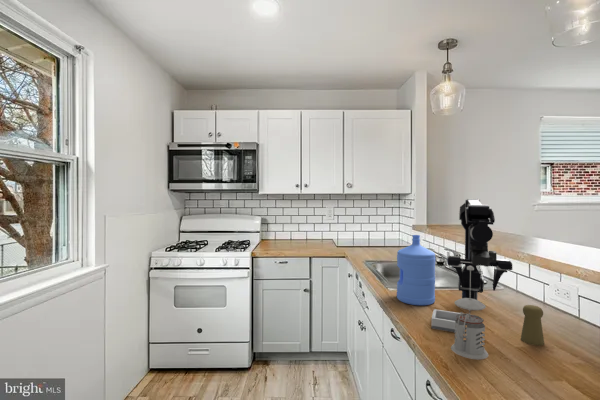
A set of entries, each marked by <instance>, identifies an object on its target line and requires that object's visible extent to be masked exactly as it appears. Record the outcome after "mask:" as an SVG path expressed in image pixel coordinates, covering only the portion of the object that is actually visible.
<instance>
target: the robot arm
mask: <svg viewBox="0 0 600 400" xmlns="http://www.w3.org/2000/svg"><path fill="white" fill-rule="evenodd" d="M458 212H459V213H458V214H459V216H458V220H460V224H461V225H460V226H462V227H463V230H464V258H461V256H457V255H456V256H455V255H448V256H447V257H446V258H447V259H446V260H447V263H446V264H447V266H450V267H451V268H452V269H454V270H455V271H456V273H457V277H458V281H457V285H458V286H457V288H458V291H459V292H460V291H461V299H462V298H472V299H475V300H478V297H479V296H478V295H479V293H480V294H482V293H484V284H485V281H484V280H483V277H482V276H481V275H482V274H481V273H480V271H479V270H478V266H481V267H482V266H483V267H486V268H487V267H494V269H493V276H492V277H493V279H492V281H493V282H492V290H493V291H496V288H497V286H498V283H499V281H500V279H501V277H502V276H503V274H504V273H508V270H509V271H513V263H512V261H511V260H509V259H501V258H497V251H496V250H495V251H494V250H489V242H490V241H491V239H492V238H493V235H494V232H493V230H492V228H491V227H490V226H489V225H493V226H494V223H495V221H496V220H495V214H494V211H493V209H492V207H490V205H489V204H482V203H481V199H479V198H466V199H465V202H464V203H463V204H462V205H460V207H459V211H458ZM461 265H464V266H463V267H462V266H461ZM468 266H472V267H474V270H471V296H470V270H467V267H468Z"/></svg>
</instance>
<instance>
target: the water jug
mask: <svg viewBox="0 0 600 400" xmlns="http://www.w3.org/2000/svg"><path fill="white" fill-rule="evenodd" d="M420 238H421V235H419V234H412V238H411V241H412V242H411V243H412V244H411V245H407V246H405V247H403V248H401V249H399V250H398V251H397V254H396V260H397V264H396V265H397V267H398V268H399V279H398V281H397V282H396V298H397V300H399V302H402V303H404V304H408V305H413V306H430V305H433V304H434V303H435V302H436V294H435V293H436V253H435V252H434V251H432V250H431V249H428V248H426V246H425V247H424V246H422V245H421V243H420V242H421V239H420Z"/></svg>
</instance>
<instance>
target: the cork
mask: <svg viewBox="0 0 600 400" xmlns="http://www.w3.org/2000/svg"><path fill="white" fill-rule="evenodd" d="M522 314H523V315H524V318H523V323H522V328H521V333H520V334H521V335H520V341H521V342H524V343H525V344H529V345H532V346H540V347H541V346H544V345H545V339H544V331H543V325H542V318H543V316H544V311H543V308H542V307H540V306H537V305H533V304H525V305H524V306H523V307H522Z"/></svg>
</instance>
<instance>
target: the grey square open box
mask: <svg viewBox="0 0 600 400" xmlns="http://www.w3.org/2000/svg"><path fill="white" fill-rule="evenodd" d="M460 313H461V312H458V311H457V312H455V311H449V310H443V309H442V310H441V309H437V308H433V311H432V316H431V318H430V319H431V329H433V330H439V331H444V332H445V331H446V332H451V333H454V334H455V333H456V332H455V329H456V328H455V320H456V319H457V317H456V316H457V315H458V314H460ZM463 313H464V312H462V314H463ZM461 326H463V325H461ZM463 328H464V326H463ZM463 332H464V330H463Z"/></svg>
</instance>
